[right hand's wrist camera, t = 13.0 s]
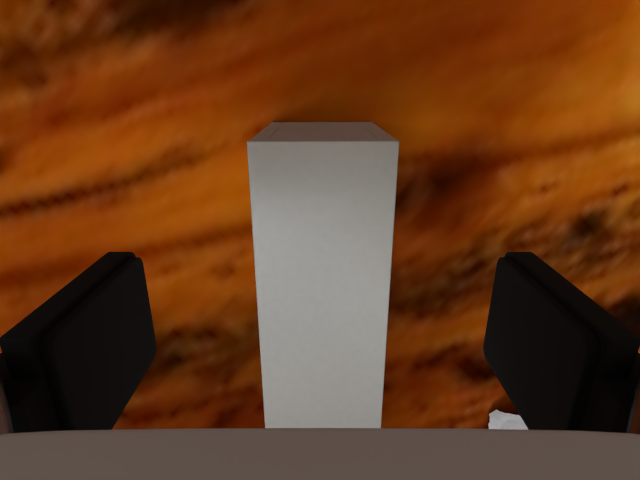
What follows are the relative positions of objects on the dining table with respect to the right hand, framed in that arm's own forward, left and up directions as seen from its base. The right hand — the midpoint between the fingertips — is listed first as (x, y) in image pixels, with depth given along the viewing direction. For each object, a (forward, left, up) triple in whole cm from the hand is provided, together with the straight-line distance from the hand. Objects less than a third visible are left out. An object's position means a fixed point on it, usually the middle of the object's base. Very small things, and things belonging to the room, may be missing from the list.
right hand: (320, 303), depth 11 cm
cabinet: (+4, +4, -18) cm, 18 cm away
